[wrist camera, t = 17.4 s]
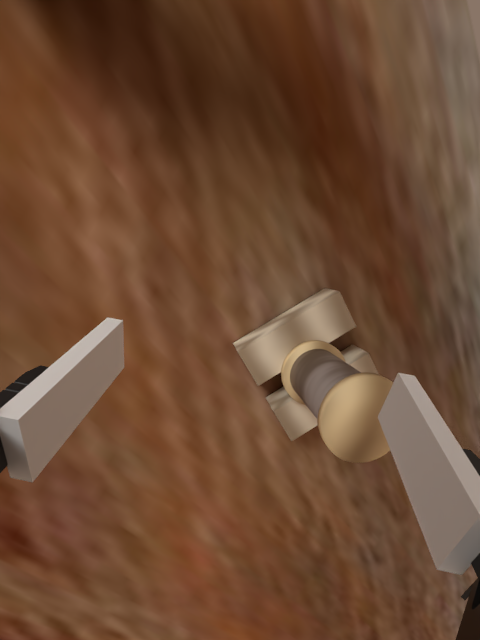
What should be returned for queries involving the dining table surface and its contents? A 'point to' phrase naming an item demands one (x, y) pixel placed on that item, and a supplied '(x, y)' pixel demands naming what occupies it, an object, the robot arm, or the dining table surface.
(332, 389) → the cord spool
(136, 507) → the dining table surface
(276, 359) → the slotted stand
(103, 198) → the dining table surface
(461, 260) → the dining table surface
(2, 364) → the dining table surface
